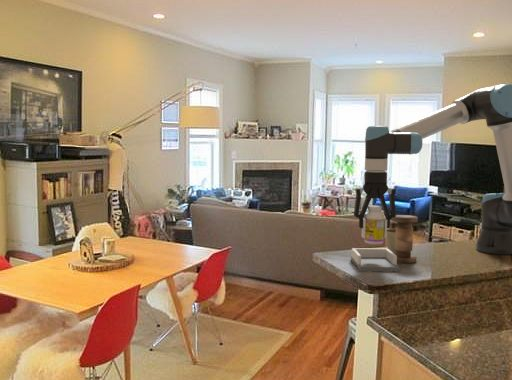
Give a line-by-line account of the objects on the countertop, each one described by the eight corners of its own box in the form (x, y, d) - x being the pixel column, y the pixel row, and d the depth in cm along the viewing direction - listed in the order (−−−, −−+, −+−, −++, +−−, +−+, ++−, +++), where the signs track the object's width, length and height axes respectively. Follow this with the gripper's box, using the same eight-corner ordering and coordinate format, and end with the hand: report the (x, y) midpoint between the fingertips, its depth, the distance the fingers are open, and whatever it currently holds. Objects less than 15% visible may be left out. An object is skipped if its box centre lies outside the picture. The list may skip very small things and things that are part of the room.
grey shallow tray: (386, 260, 176) (387, 248, 175) (399, 271, 160) (399, 258, 159) (351, 260, 176) (351, 247, 175) (360, 271, 160) (360, 258, 159)
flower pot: (381, 253, 186) (381, 231, 186) (386, 249, 195) (387, 227, 194) (406, 256, 182) (406, 233, 181) (410, 251, 190) (411, 229, 190)
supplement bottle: (360, 241, 170) (361, 205, 168) (375, 240, 172) (376, 204, 171) (372, 245, 164) (373, 207, 162) (387, 243, 166) (388, 206, 165)
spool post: (411, 257, 180) (413, 215, 179) (419, 263, 171) (421, 218, 170) (387, 257, 180) (388, 214, 179) (394, 263, 171) (395, 218, 170)
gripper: (401, 170, 169) (399, 235, 171) (345, 170, 169) (343, 235, 172) (407, 172, 162) (405, 239, 164) (349, 171, 162) (347, 239, 164)
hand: (373, 237), depth 168 cm, fingers closed on supplement bottle, 7 cm apart
